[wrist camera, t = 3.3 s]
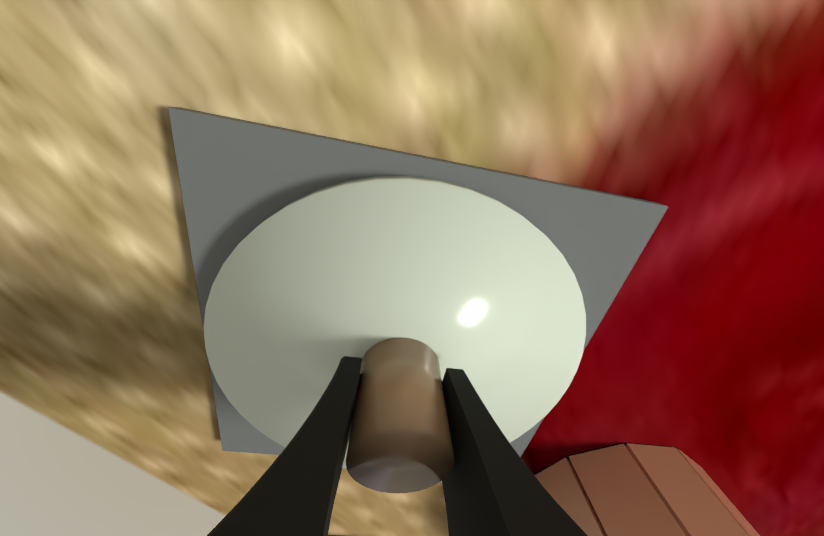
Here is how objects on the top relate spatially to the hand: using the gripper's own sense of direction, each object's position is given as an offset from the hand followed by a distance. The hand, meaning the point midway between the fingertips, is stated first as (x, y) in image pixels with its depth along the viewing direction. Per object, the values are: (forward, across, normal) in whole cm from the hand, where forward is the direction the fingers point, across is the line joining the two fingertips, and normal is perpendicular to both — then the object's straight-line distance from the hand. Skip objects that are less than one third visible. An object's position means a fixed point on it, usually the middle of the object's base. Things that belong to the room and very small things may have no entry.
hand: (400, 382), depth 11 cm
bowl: (+2, -15, +11) cm, 19 cm away
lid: (+2, 0, 0) cm, 2 cm away
